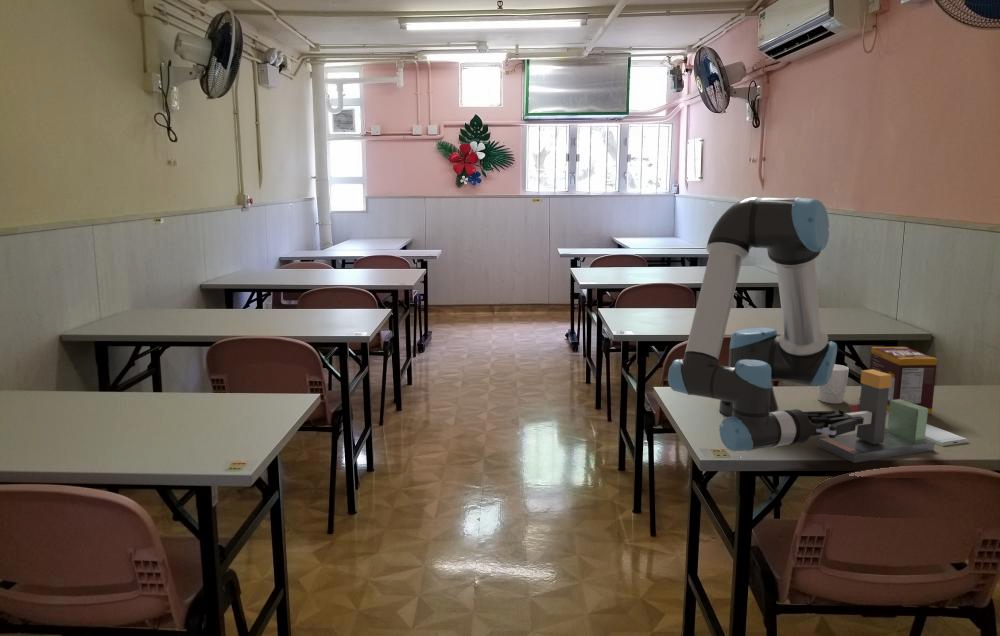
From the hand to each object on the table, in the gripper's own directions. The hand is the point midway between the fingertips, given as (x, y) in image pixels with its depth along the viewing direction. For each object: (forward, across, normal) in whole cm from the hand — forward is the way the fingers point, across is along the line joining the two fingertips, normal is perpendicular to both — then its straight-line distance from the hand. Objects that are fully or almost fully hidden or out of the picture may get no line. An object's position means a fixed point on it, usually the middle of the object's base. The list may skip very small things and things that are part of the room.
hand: (869, 417), depth 173 cm
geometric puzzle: (+17, -17, -9) cm, 25 cm away
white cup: (+23, -36, -9) cm, 43 cm away
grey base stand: (+4, -1, -8) cm, 9 cm away
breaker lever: (+2, -1, -6) cm, 6 cm away
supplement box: (+37, -26, -9) cm, 46 cm away
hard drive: (+25, -3, -9) cm, 27 cm away
